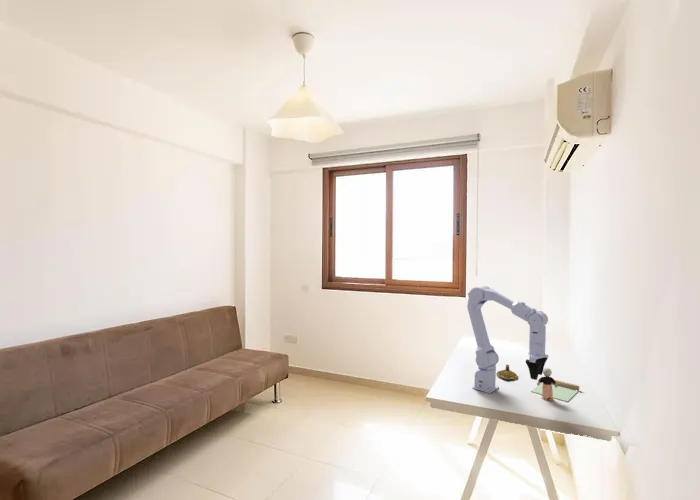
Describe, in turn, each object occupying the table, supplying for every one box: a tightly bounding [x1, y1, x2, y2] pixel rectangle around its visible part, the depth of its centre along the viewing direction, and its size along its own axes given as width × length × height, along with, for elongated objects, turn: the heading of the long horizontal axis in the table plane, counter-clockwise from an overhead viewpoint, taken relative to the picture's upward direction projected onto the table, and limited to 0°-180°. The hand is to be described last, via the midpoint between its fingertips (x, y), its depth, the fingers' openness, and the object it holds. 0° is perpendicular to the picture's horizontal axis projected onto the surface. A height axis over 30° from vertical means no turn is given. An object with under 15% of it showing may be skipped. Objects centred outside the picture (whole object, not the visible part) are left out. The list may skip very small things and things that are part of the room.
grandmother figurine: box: [536, 367, 558, 401], centre depth 150 cm, size 8×4×13 cm, turn 92°
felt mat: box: [530, 383, 579, 403], centre depth 158 cm, size 16×14×1 cm
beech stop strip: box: [552, 379, 580, 392], centre depth 164 cm, size 2×14×2 cm, turn 45°
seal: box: [496, 364, 519, 382], centre depth 176 cm, size 9×5×15 cm
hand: (536, 376), depth 146 cm, fingers open, 7 cm apart
